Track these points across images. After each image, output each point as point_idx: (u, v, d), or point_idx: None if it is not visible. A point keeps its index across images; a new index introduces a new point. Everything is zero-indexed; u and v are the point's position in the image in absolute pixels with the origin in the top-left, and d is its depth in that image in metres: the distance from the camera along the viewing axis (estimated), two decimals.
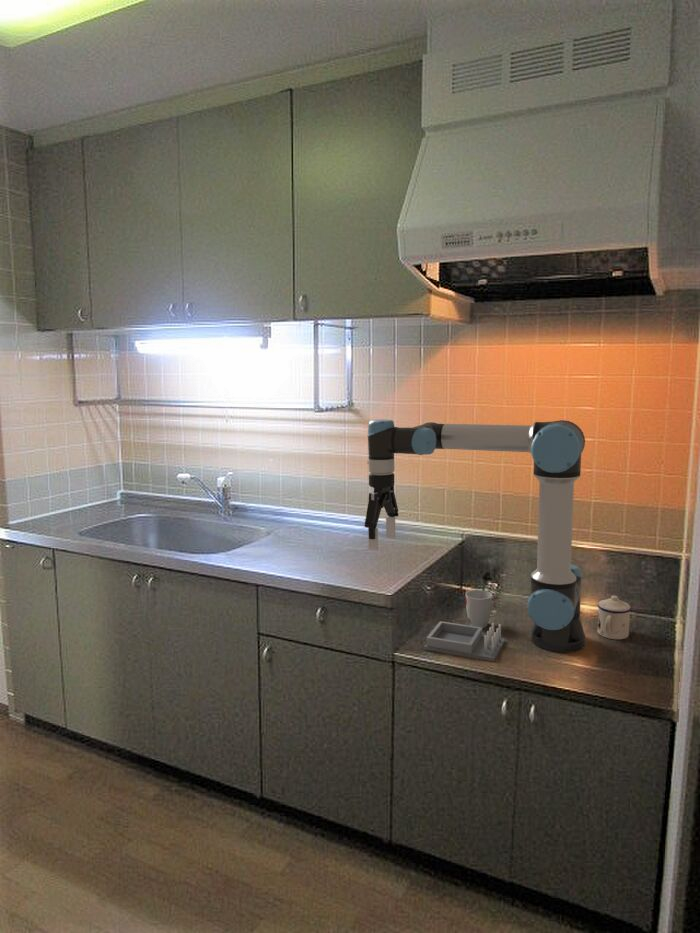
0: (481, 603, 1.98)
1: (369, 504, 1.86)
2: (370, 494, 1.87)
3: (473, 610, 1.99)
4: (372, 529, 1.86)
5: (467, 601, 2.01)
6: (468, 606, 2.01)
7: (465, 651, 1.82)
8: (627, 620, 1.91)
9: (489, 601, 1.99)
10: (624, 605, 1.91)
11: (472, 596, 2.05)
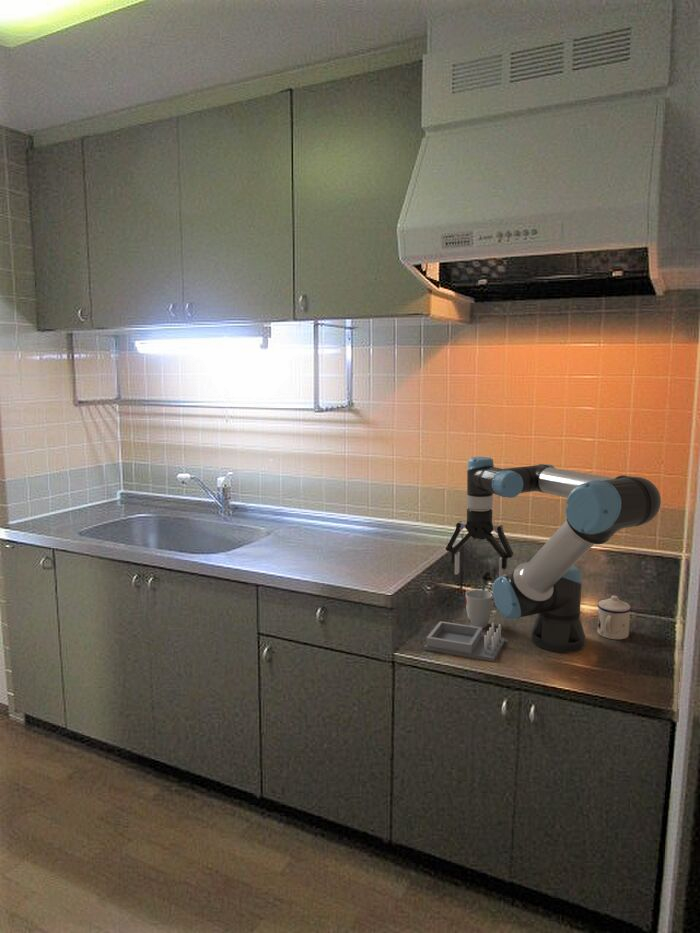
0: (481, 603, 1.98)
1: None
2: (458, 522, 2.02)
3: (473, 610, 1.99)
4: None
5: (467, 601, 2.01)
6: (468, 606, 2.01)
7: (465, 651, 1.82)
8: (627, 620, 1.91)
9: (489, 601, 1.99)
10: (624, 605, 1.91)
11: (472, 596, 2.05)
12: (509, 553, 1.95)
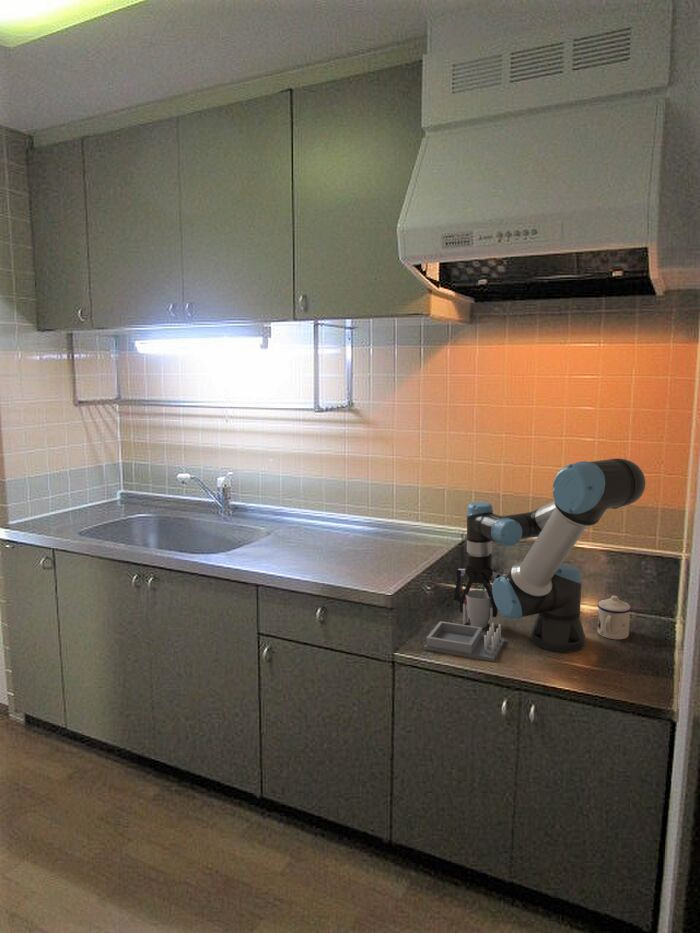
0: (481, 603, 1.98)
1: None
2: None
3: (473, 610, 1.99)
4: (460, 602, 2.04)
5: (467, 601, 2.01)
6: (468, 606, 2.01)
7: (465, 651, 1.82)
8: (627, 620, 1.91)
9: (489, 601, 1.99)
10: (624, 605, 1.91)
11: (472, 596, 2.05)
12: None
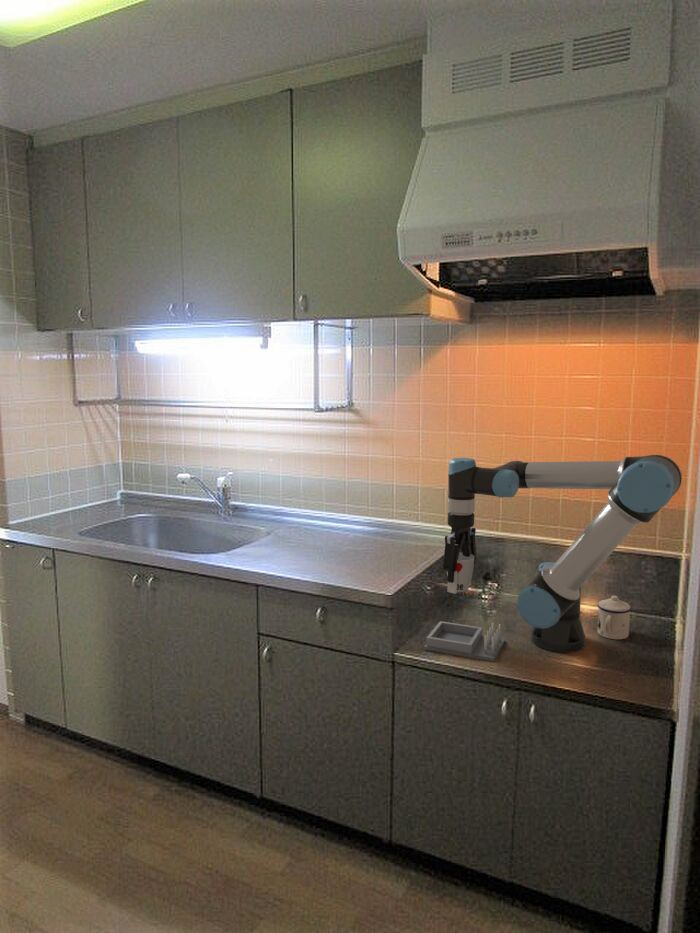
0: (473, 561, 1.89)
1: (446, 547, 1.85)
2: (446, 538, 1.84)
3: (470, 571, 1.88)
4: (451, 573, 1.86)
5: (463, 566, 1.86)
6: (464, 570, 1.87)
7: (465, 651, 1.82)
8: (627, 620, 1.91)
9: None
10: (624, 605, 1.91)
11: None
12: (475, 555, 1.95)
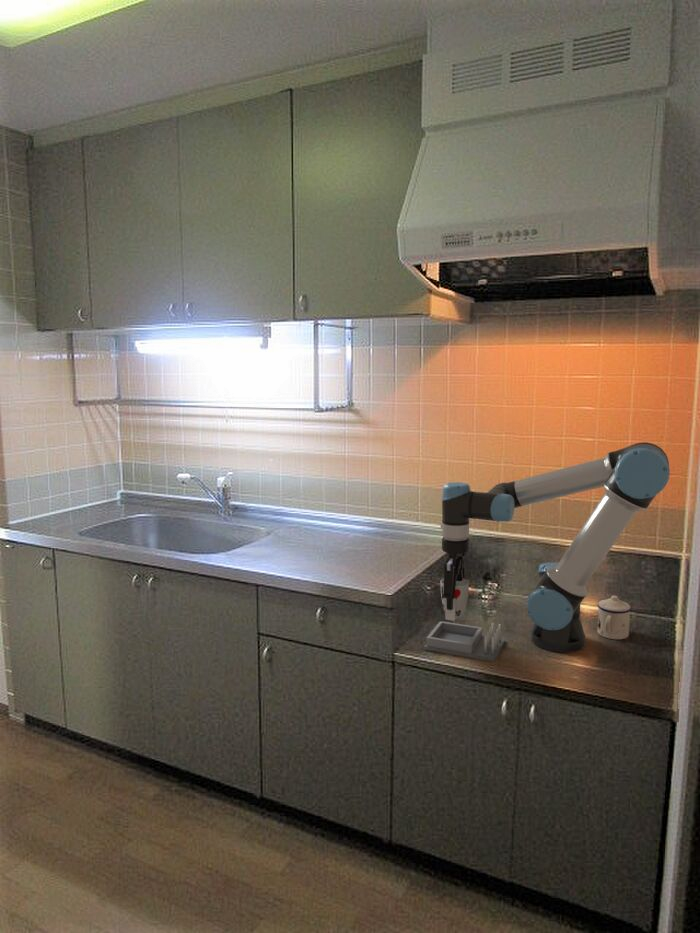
0: None
1: (445, 575, 1.81)
2: (445, 565, 1.80)
3: (467, 596, 1.86)
4: (450, 600, 1.83)
5: (461, 592, 1.84)
6: (462, 596, 1.84)
7: (465, 651, 1.82)
8: (627, 620, 1.91)
9: None
10: (624, 605, 1.91)
11: None
12: (465, 578, 1.93)
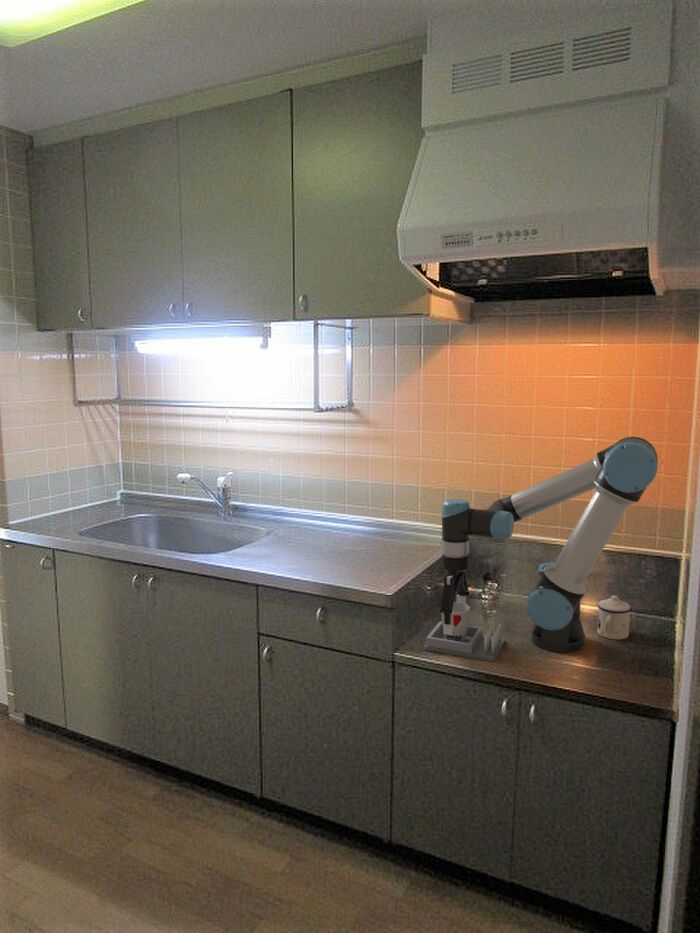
0: None
1: (445, 588, 1.81)
2: (446, 578, 1.81)
3: (467, 622, 1.88)
4: (448, 614, 1.81)
5: (462, 617, 1.86)
6: (463, 622, 1.86)
7: (465, 651, 1.82)
8: (627, 620, 1.91)
9: None
10: (624, 605, 1.91)
11: None
12: (467, 587, 1.96)
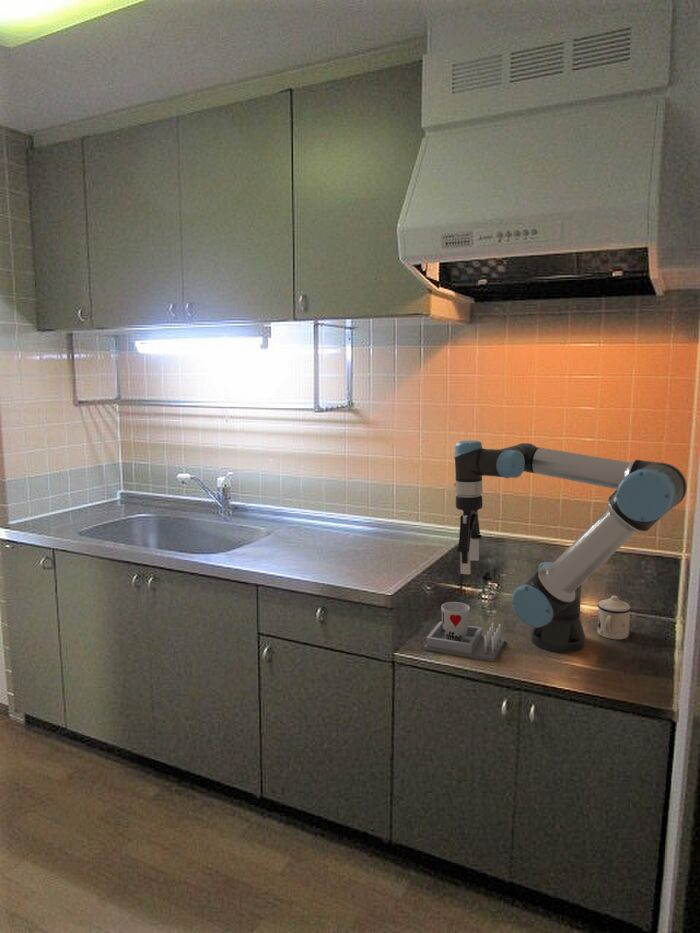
0: None
1: (461, 527, 1.82)
2: (462, 517, 1.82)
3: (467, 622, 1.88)
4: (465, 553, 1.82)
5: (462, 617, 1.86)
6: (463, 622, 1.86)
7: (465, 651, 1.82)
8: (627, 620, 1.91)
9: None
10: (624, 605, 1.91)
11: None
12: (479, 530, 1.98)
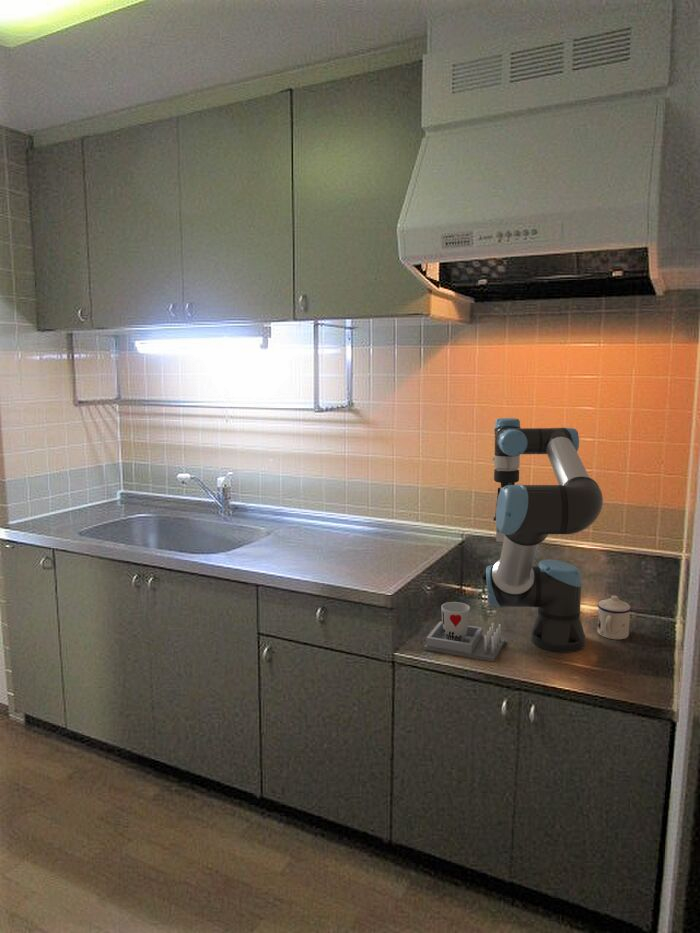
0: None
1: None
2: (499, 489, 1.96)
3: (467, 622, 1.88)
4: None
5: (462, 617, 1.86)
6: (463, 622, 1.86)
7: (465, 651, 1.82)
8: (627, 620, 1.91)
9: None
10: (624, 605, 1.91)
11: None
12: None
